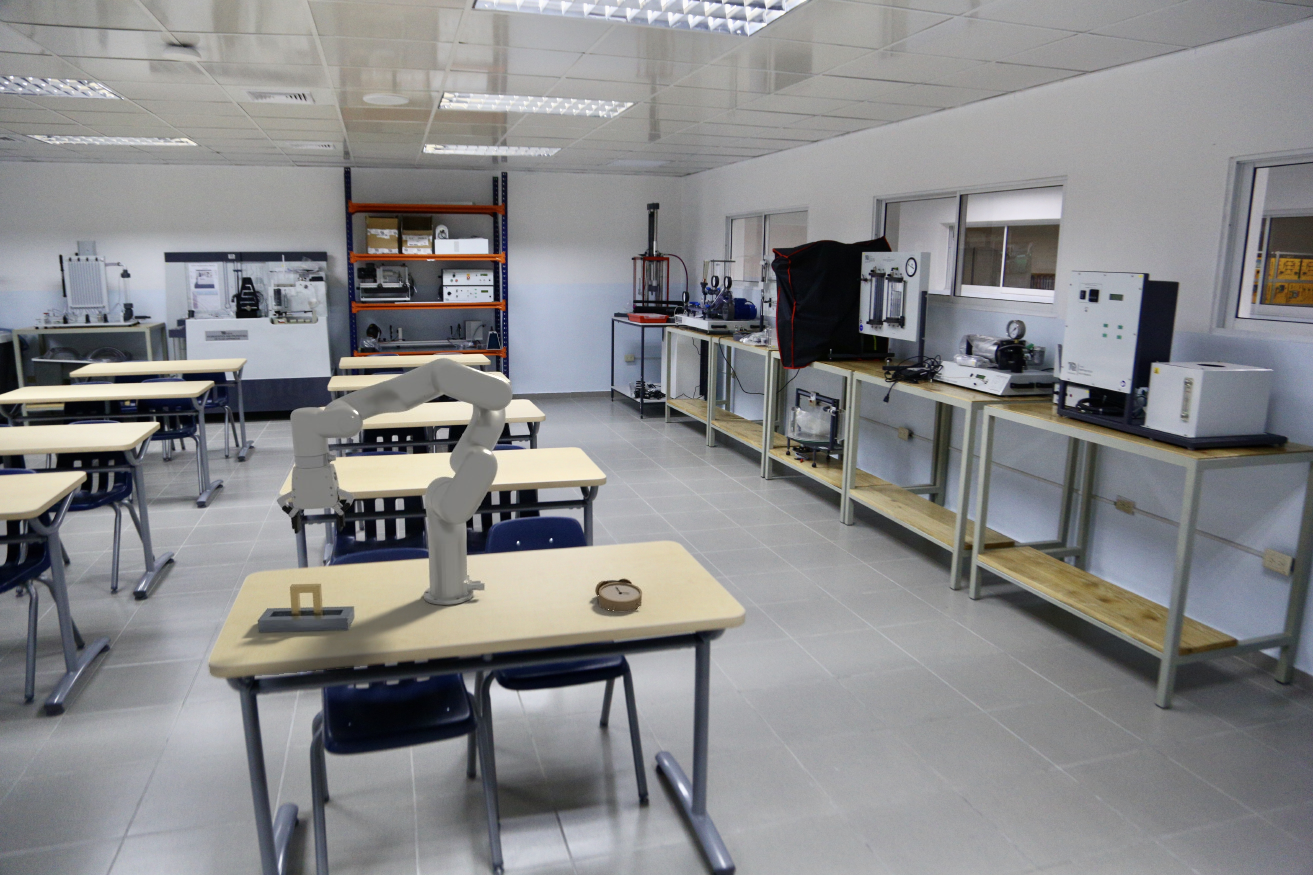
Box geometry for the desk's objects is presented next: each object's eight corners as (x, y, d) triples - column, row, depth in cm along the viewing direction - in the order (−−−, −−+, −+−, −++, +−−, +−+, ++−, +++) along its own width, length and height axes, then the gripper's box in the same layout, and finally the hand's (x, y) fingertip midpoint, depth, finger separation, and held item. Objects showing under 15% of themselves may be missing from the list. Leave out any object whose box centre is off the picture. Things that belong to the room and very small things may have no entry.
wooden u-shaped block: (323, 619, 202) (321, 583, 200) (321, 622, 201) (319, 586, 199) (294, 620, 201) (291, 584, 199) (292, 623, 200) (289, 586, 198)
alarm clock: (606, 604, 211) (589, 574, 224) (605, 621, 213) (588, 590, 226) (648, 599, 215) (629, 569, 228) (647, 616, 217) (628, 585, 230)
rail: (354, 617, 206) (353, 606, 205) (347, 629, 199) (347, 618, 198) (268, 619, 203) (267, 608, 203) (258, 632, 196) (257, 620, 196)
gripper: (354, 455, 202) (360, 523, 206) (277, 458, 199) (285, 527, 203) (347, 463, 195) (354, 533, 198) (268, 466, 192) (276, 537, 196)
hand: (319, 530), depth 201 cm, fingers open, 9 cm apart
